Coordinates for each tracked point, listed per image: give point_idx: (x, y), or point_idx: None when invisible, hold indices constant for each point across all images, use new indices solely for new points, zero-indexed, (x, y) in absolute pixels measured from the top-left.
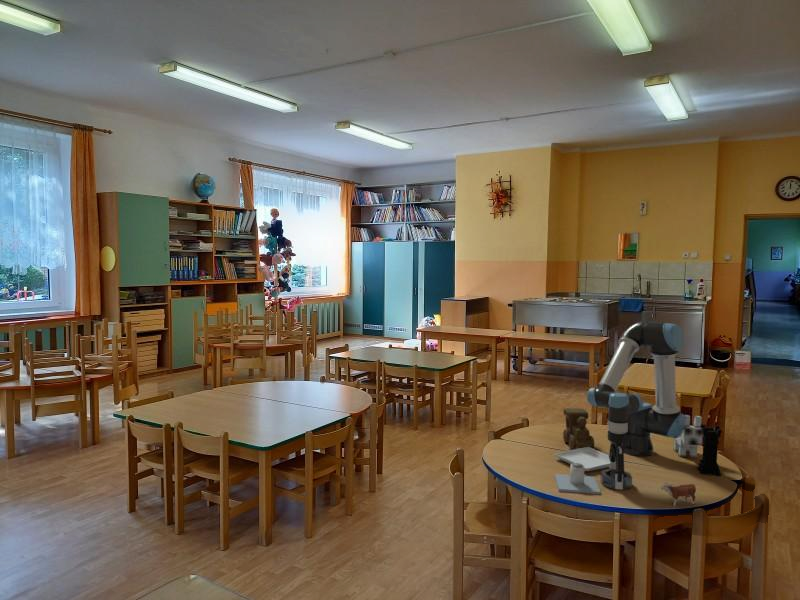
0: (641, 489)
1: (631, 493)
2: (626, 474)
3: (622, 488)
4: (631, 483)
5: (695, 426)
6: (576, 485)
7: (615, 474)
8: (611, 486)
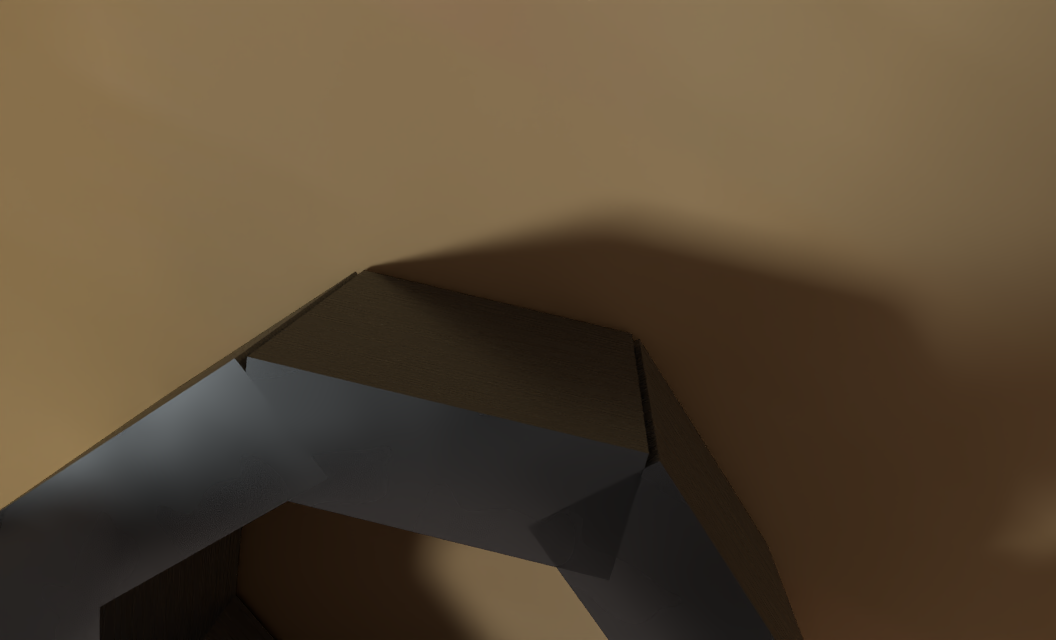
0: (783, 148)
1: (968, 495)
2: (378, 514)
3: None
4: (656, 393)
5: None
6: None
7: (169, 594)
8: None
